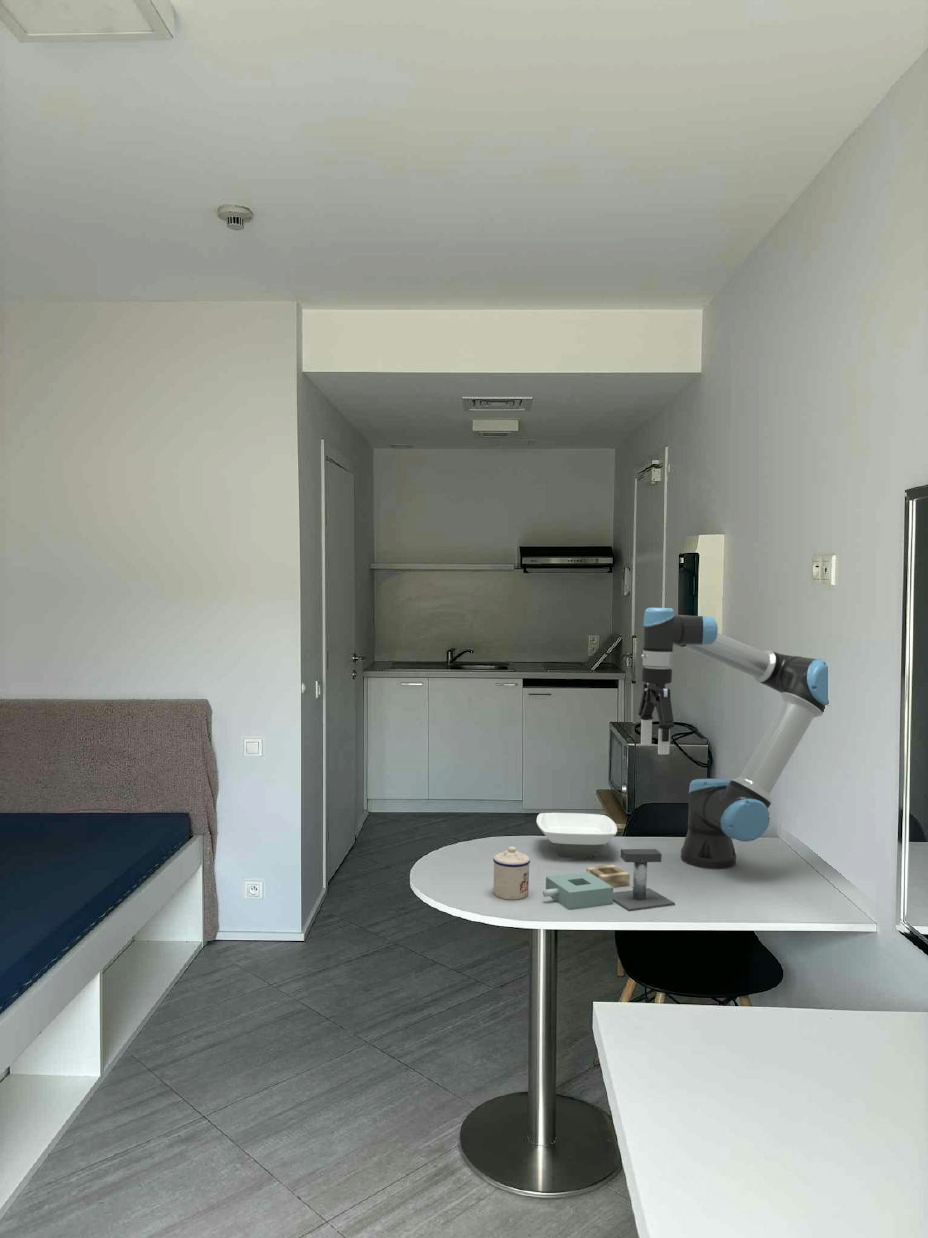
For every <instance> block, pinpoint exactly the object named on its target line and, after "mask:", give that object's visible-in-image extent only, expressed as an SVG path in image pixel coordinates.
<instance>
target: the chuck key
mask: <svg viewBox="0 0 928 1238" xmlns="http://www.w3.org/2000/svg"><path fill="white" fill-rule="evenodd" d="M662 857H663V856H662V853H661V852H660V851H659V849H657V848H628V849H627V848H621V849H620V859H621V860H622V861H624V863H633V879H632V890H633V899H635V900H645V899H646V888H647V882H648V881H647V880H648V878H647V876H648V863H662Z"/></svg>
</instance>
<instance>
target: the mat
mask: <svg viewBox="0 0 928 1238" xmlns="http://www.w3.org/2000/svg"><path fill="white" fill-rule="evenodd" d="M613 903H616V904H617V905H618V906H621V907H622V908H623V909H625V910H627V911H628V912H632V911H640V910H647V909H654V908H662V907H671V906H675V905H676V903H675V902H674V901H672V900H671V899H670V898H668V897H666V896H664V895H662V894H660V893H658V892H657V891H655V890H653V889H652V888H650V887H646V899H645V900H635V899H633V889H630V890H622V891H616V892H615V891H613Z"/></svg>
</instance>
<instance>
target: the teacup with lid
mask: <svg viewBox="0 0 928 1238" xmlns="http://www.w3.org/2000/svg"><path fill="white" fill-rule="evenodd" d="M492 861H493V862H494V863H493V888H492V889H493V895H494V896H496V897H497V898H500V899H503V900H509V901H511V900H512V901H515V900H522V899H524V898H526V897H528V895H529V883H530V882H529V881H530V880H529V878H530V876H529V875H530V863H531V860H530V857H529V856H528V855H526V854H524V853H521V852H520V851H518V850H517V848H516V846H509V847H507V850H505V851H503V852H499V853H497V854H495V855H494V857H493V859H492Z"/></svg>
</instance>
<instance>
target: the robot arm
mask: <svg viewBox="0 0 928 1238" xmlns="http://www.w3.org/2000/svg"><path fill="white" fill-rule="evenodd" d="M642 625H643V634H642V635H643V639H642V640H643V642H642V643H643V644H642V646H643V647H642V654H641V655H640V657H641V659H642V666H644V667H643V668H642V669H641V672H642V673H641V681H642V683H643V685H642V686H643V688H642V694H641V699H640V703H639V704H640V705H639V710H638V716H639V717H640V720H641V722H640V745H642V746H643V745H646V746H647V745H649V746H650V745H652V738H653V736H652V733H653V720H654V717H653V713H654V710H656V714H657V718H658V722H659V724H658V726H657V729H658V733H657V734H658V737H657V738H658V740H657V741H658V743H657V754H658V755H670V744H671V743H670V742H671V741H670V739H671V737H670V736H671V729H672V728H674V727H675V721H674V716H673V715H674V714H673V707H672V700H671V688H666V685H668V684H670V683H672V681H673V670H672V667H673V659H674V656H673V655H674V653H673V652H674V651H673V650H674V645H675V646H678V647H681V648H684V649H686V650H689V651H691V652H693V653H696V654H699V655H701V656H703V657H705V658H709V659H711V660H713V661H715V662H718V663H720V664H723V665H725V666H728V667H730V668H733V669H735V670H738V671H740V672H742V673H745V674H747V675H750V676H752V677H753V679H754V681H755V682H758V683H760V684H763V685H765V686H766V687H768V688H771V689H773V690H775V691H776V692H779V693H781V697H782V704H781V706H780V707H779V709H778V711H777V712H776V715H775V716H774V718H773V720H772V721H771V723H770V725H769V726H768V728H767V730H766V731H765V733H764V735H763V737H762V738H761V740H760V741H759V743H758V745H757V747H756V749H755V750H754V752H753V754H752V755H751V757H750V759H748V762H747V764H746V765H745V768H744V769H743V771H742V773H741V774H740V776H739V777H736V778H731V780H729V779H723V778H722V779H721V778H696V779H692V780H691V781H690V783H689V787H688V788H689V790H688V820H687V833H686V836H685V839H684V842H683V845H682V847H681V850H680V859H681V860H682V861H683V862H684V863H686V864H688V865H691V866H695V867H699V868H705V869H718V870H719V869H721V870H722V869H729V868H733V867H735V866H736V865H737V854H736V850H735V846H734V842H733V840H737V841H740V842H744V843H745V842H746V843H747V842H751V841H755V840H757V839H759V838H760V837H762V836H763V834H765V832H766V831H767V830H768V827H769V825H770V823H771V822H770V820H771V818H770V811H769V808H770V806H771V804H772V800H771V795H770V793H771V792H772V790H773V789H774V788H775V785H776V784H777V782H778V780H779V779H780V776H781V775H782V773H783V771H784V770H785V768H786V766H787V764H788V762H789V761H790V759H791V757H792V756H793V754H794V753H795V751H796V749H797V747H798V746H799V744H800V742H801V741H802V739H803V737H804V735H805V733H806V732H807V730H808V728H809V726H810V725H811V723H812V721H813V720H814V718H818V717H822V716H823V714H824V713H825V711H824V709H825V705H828V704H829V700H828V666H827V662H826V661H827V660H826V661H824V660H825V659H824V660H822V659H823V658H810V657H804V656H799V655H798V656H797V655H790V654H782V653H780V652H779V653H778V652H775V651H773V650H770V649H767V650H761V649H758V648H756V647H754V646H752V645H748V644H746V643H744V642H741V641H739V640H738V639H734V638H732V637H729V636H727V635H725V634H723V633H719V631H718V630H719V628H718V623H717V621H716V619H714V618H713V617H712V616H706V615H705V616H704V615H686V614H684V615H683V614H675V611H674V609H673V608H671V607H648V608H646V609H645V611H644V615H643V624H642ZM828 706H829V705H828ZM825 710H826V709H825ZM823 712H824V713H823Z"/></svg>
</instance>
